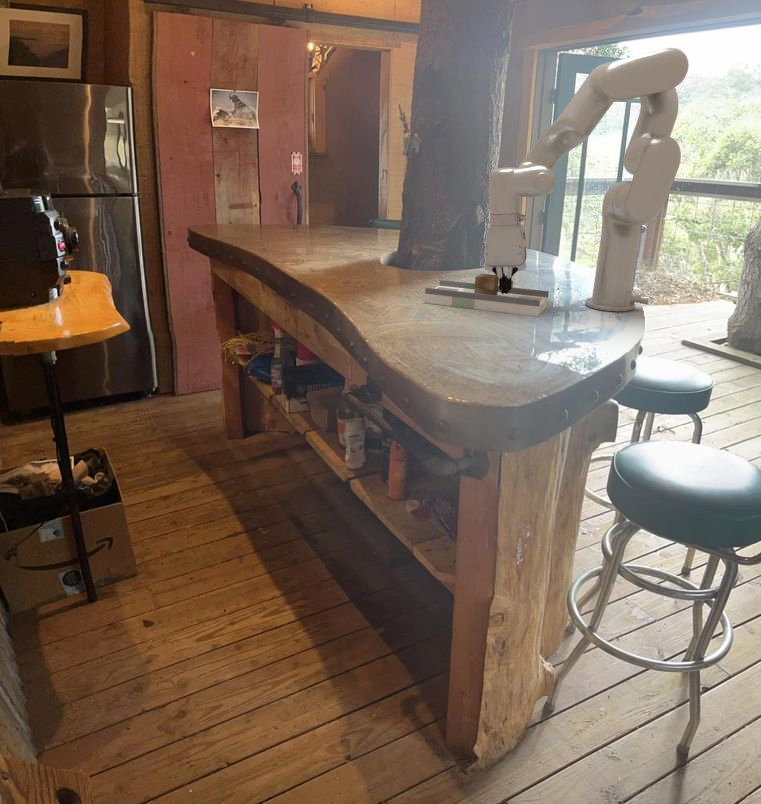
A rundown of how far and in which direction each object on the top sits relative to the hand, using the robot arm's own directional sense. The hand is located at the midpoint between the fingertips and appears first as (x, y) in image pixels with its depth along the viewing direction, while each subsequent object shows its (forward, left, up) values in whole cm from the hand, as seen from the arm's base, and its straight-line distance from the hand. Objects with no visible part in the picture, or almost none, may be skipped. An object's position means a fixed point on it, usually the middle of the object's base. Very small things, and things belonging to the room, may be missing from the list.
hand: (505, 292), depth 169 cm
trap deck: (+5, 0, -4) cm, 6 cm away
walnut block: (+5, 0, -1) cm, 5 cm away
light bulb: (+4, -19, -4) cm, 19 cm away
